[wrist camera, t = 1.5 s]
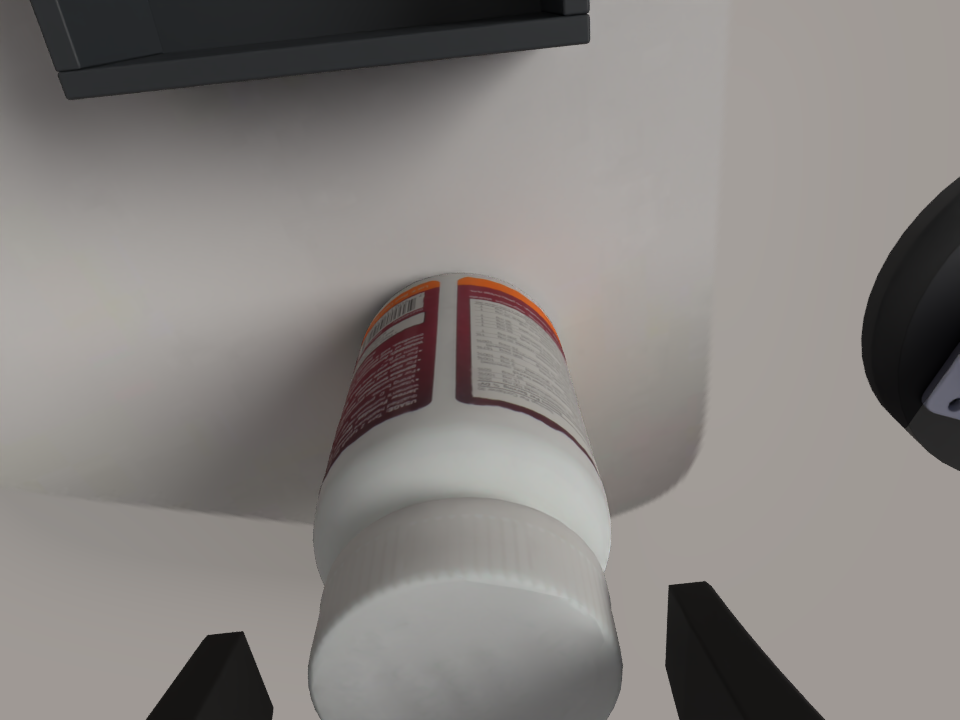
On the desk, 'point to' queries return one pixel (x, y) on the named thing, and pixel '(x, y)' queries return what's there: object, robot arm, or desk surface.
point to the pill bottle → (463, 522)
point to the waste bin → (282, 37)
